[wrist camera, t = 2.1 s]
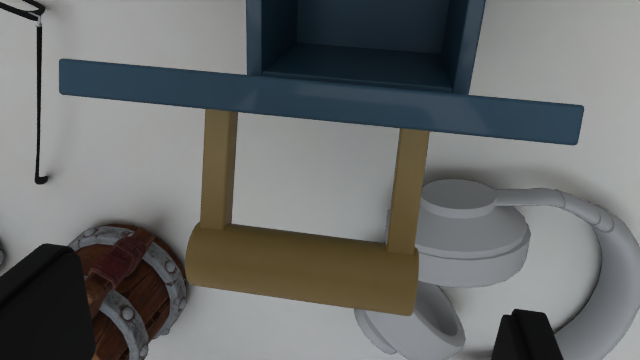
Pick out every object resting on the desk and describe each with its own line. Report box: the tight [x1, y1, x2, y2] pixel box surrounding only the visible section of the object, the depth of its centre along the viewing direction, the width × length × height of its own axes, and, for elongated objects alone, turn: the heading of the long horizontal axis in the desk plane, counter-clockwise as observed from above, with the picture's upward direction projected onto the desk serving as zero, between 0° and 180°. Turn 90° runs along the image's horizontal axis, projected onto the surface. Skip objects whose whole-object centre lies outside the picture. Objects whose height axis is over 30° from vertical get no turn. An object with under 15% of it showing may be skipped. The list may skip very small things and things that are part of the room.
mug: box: [68, 224, 186, 360], centre depth 39 cm, size 12×14×15 cm
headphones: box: [354, 179, 640, 360], centre depth 36 cm, size 18×8×20 cm
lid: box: [59, 59, 584, 316], centre depth 18 cm, size 14×11×6 cm
